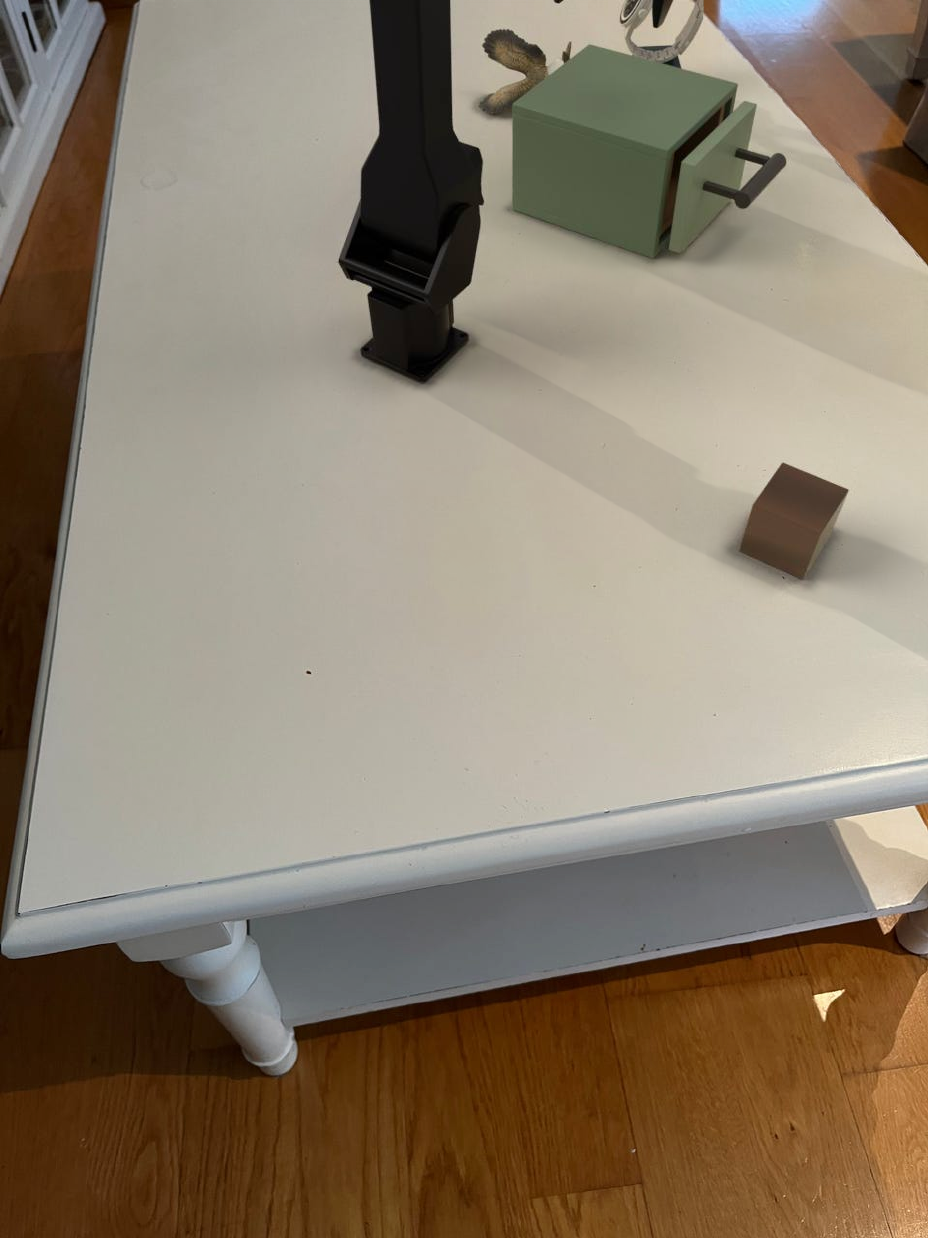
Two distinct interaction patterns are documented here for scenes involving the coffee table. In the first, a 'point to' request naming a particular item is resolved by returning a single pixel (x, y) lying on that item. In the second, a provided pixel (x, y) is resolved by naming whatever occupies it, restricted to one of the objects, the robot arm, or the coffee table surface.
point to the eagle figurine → (517, 67)
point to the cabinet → (608, 143)
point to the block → (792, 520)
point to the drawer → (713, 174)
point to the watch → (631, 18)
